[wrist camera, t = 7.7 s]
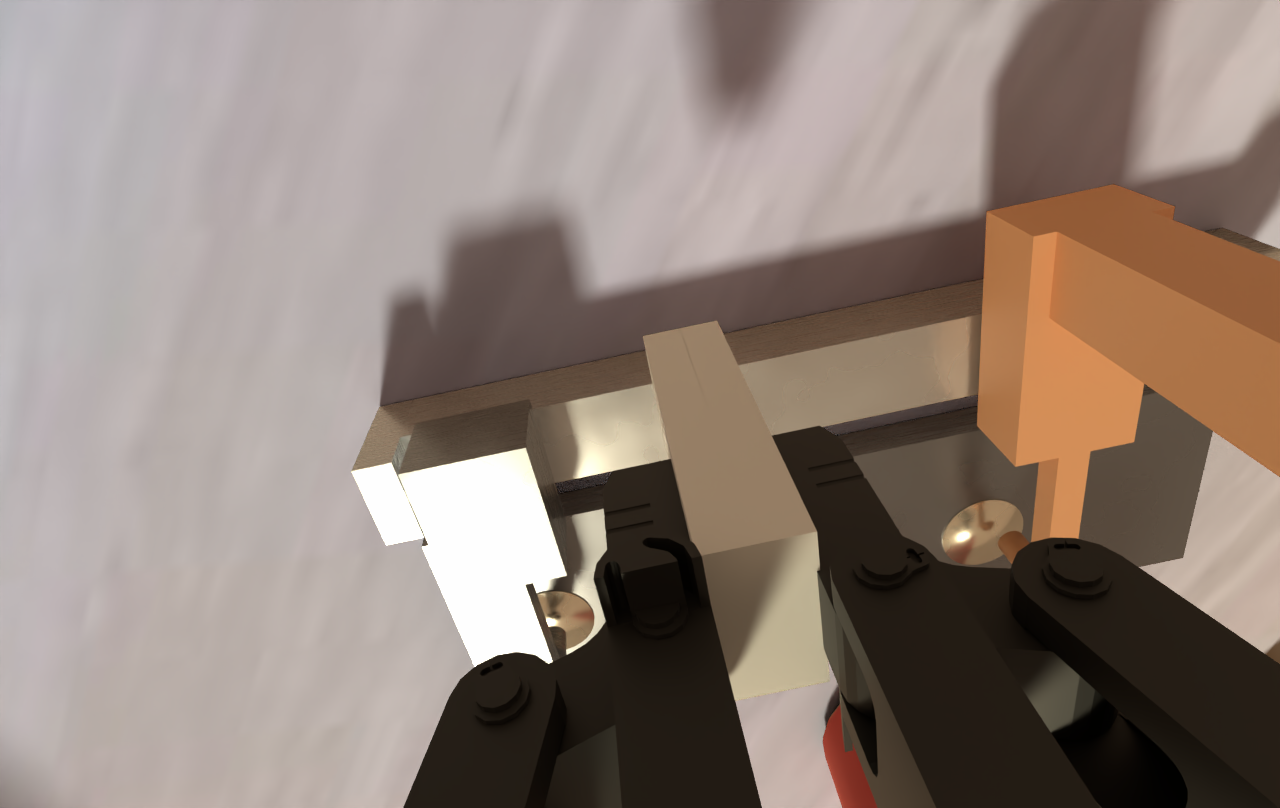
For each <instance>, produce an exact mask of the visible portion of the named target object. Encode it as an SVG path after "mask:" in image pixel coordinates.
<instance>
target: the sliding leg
mask: <svg viewBox="0 0 1280 808" xmlns="http://www.w3.org/2000/svg"><path fill="white" fill-rule="evenodd" d="M1174 210H1175V206H1172V205H1170V204H1167V203H1164V202H1161V201H1159V200H1156V199H1153V198H1150V197H1148V196H1145V195H1142V194H1139V193H1137V192H1134V191H1131V190H1129V189H1126V188H1123V187H1120V186H1118V185H1115V184H1112V185H1108V186H1103V187H1098V188H1094V189H1089V190H1084V191H1079V192H1075V193H1070V194H1065V195H1061V196H1056V197H1051V198H1047V199H1042V200H1037V201H1033V202H1028V203H1023V204H1019V205H1014V206H1009V207H1005V208H1000V209H995V210H991V211H987V215H986V237H985V259H984V281H983V303H982V325H981V346H980V368H979V390H978V412H977V426H978V427H979V428H980V430H981V431H982V432H983V433H984V434H985V435H986V436H987V437H988V438H989V439H990V440H991V441H992V442H993V443H994V445H995V446H996V447H997V448H998V449H999V450H1000V451H1001V452H1002V453H1003V454H1004V455H1005V456H1006V457H1007V458H1008V459H1009V461H1010V462H1011V463H1012V464H1013V465H1014V466H1015V467H1017V466H1022V465H1027V464H1032V463H1037V462H1039V467H1038V477H1037V487H1036V497H1035V507H1034V518H1033V528H1032V538H1031V542H1034V541H1038V540H1043V539H1047V538H1051V537H1055V538H1077V539H1078V537H1079V530H1080V523H1081V516H1082V509H1083V502H1084V494H1085V487H1086V480H1087V473H1088V466H1089V459H1090V452H1091V451H1094V450H1099V449H1104V448H1109V447H1113V446H1118V445H1123V444H1128V443H1133V442H1134V440H1135V434H1136V429H1137V423H1138V417H1139V411H1140V406H1141V400H1142V394H1143V388H1144V384H1146V385H1147V386H1148V387H1150V388H1151V389H1153V390H1154V391H1156V392H1157V393H1159V394H1160V395H1162V396H1163V397H1164V398H1166V399H1167V400H1169V401H1170V402H1172V403H1173V404H1175V405H1176V406H1178V407H1179V408H1180V409H1182V410H1183V411H1185V412H1186V413H1188V414H1189V415H1191V416H1192V417H1193V418H1195V419H1196V420H1198V421H1199V422H1201V423H1202V424H1204V425H1205V426H1207V427H1208V428H1209V429H1211V430H1212V431H1214V432H1215V433H1217V434H1218V435H1220V436H1221V437H1222V438H1224V439H1225V440H1227V441H1228V442H1230V443H1231V444H1233V445H1234V446H1236V447H1237V448H1238V449H1240V450H1241V451H1243V452H1244V453H1246V454H1247V455H1249V456H1250V457H1252V458H1253V459H1254V460H1256V461H1257V462H1259V463H1260V464H1262V465H1263V466H1265V467H1266V468H1267V469H1269V470H1270V471H1272V472H1273V473H1275V474H1276V475H1278V476H1279V477H1280V261H1278V260H1275V259H1272V258H1270V257H1267V256H1265V255H1262V254H1259V253H1257V252H1254V251H1252V250H1249V249H1247V248H1244V247H1241V246H1239V245H1236V244H1234V243H1231V242H1229V241H1226V240H1223V239H1221V238H1218V237H1216V236H1213V235H1211V234H1208V233H1205V232H1203V231H1200V230H1198V229H1195V228H1193V227H1190V226H1187V225H1185V224H1182V223H1180V222H1177V221H1175V220H1173V216H1174ZM1028 544H1029V542H1028V541H1027V539H1026V538H1025V537H1024V536H1023V535H1022V533H1020V532H1018V531H1010V532H1007V533H1005V534H1004V535H1002V536H1001V538H1000V539H999V541H998V547H999V548H1000V550H1001V551H1002V552H1003V554H1004V555H1005V556H1006V558H1007V559H1008V560H1009V561H1010V563H1011V564H1012V563H1013V561H1014V558H1015V556H1016V554H1017V552H1018V551H1019V550H1021V549H1022V548H1024V547H1025V546H1027V545H1028Z"/></svg>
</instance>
